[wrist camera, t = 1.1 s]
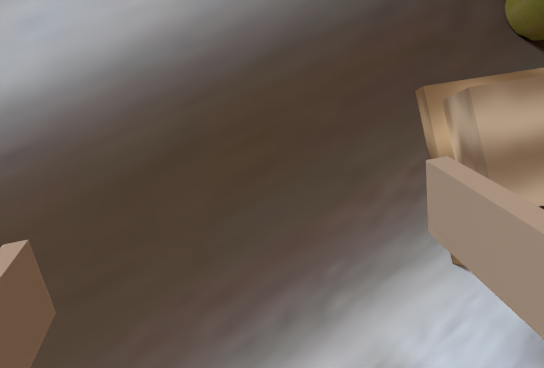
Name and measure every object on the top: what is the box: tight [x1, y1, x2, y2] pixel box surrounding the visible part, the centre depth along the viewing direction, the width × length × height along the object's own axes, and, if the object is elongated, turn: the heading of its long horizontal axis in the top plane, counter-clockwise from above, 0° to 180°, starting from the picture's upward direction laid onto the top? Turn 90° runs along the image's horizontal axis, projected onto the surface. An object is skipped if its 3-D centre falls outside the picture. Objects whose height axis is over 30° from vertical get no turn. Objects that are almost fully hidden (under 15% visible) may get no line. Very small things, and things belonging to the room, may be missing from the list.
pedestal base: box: [415, 68, 544, 265], centre depth 42 cm, size 16×16×6 cm
